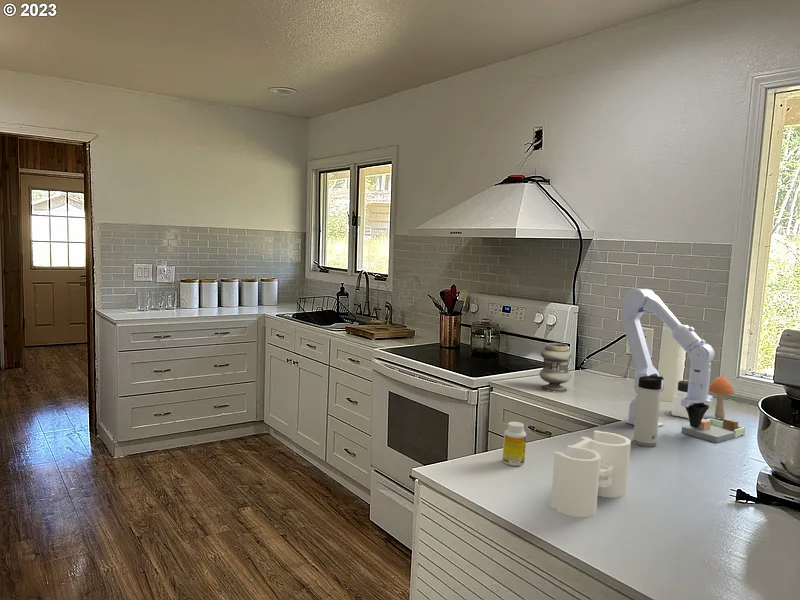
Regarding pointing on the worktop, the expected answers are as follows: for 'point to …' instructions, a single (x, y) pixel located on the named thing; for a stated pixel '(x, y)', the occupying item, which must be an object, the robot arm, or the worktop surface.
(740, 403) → the worktop surface
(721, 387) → the mushroom
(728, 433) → the slate board
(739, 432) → the sage tray
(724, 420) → the walnut tile
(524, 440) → the supplement bottle
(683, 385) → the medicine bottle
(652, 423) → the travel mug
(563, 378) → the apothecary jar
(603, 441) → the bracket
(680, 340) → the robot arm
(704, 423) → the terracotta tile
